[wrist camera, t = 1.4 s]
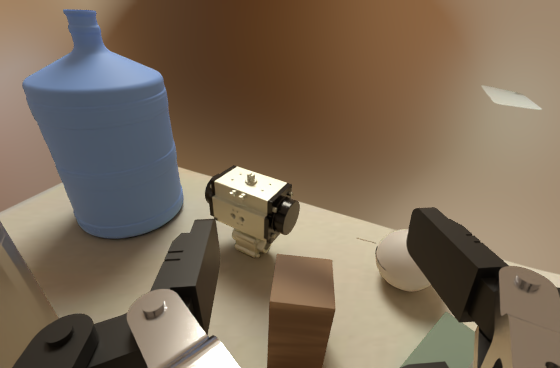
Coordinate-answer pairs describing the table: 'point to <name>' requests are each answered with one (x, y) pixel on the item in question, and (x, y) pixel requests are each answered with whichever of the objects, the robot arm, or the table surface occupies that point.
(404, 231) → the seamed sphere
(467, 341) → the stub base
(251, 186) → the pneumatic valve
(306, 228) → the table surface
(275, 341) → the brown wooden block
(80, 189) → the water jug
